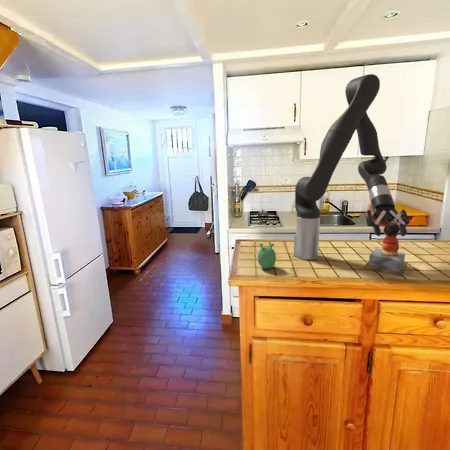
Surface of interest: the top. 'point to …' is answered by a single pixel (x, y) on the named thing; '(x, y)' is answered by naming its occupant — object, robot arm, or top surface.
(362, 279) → the top surface
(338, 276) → the top surface
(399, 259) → the pedestal
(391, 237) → the figurine
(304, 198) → the robot arm
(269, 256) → the alien toy
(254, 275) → the top surface
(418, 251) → the top surface
